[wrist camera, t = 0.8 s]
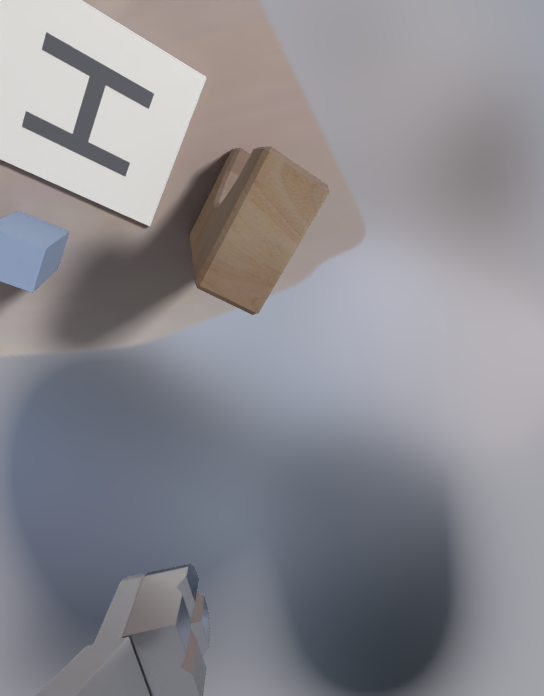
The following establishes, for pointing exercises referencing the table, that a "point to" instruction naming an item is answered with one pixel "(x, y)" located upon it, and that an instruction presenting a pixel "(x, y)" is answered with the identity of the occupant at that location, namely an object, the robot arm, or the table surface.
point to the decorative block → (252, 225)
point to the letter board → (91, 104)
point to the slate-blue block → (29, 250)
